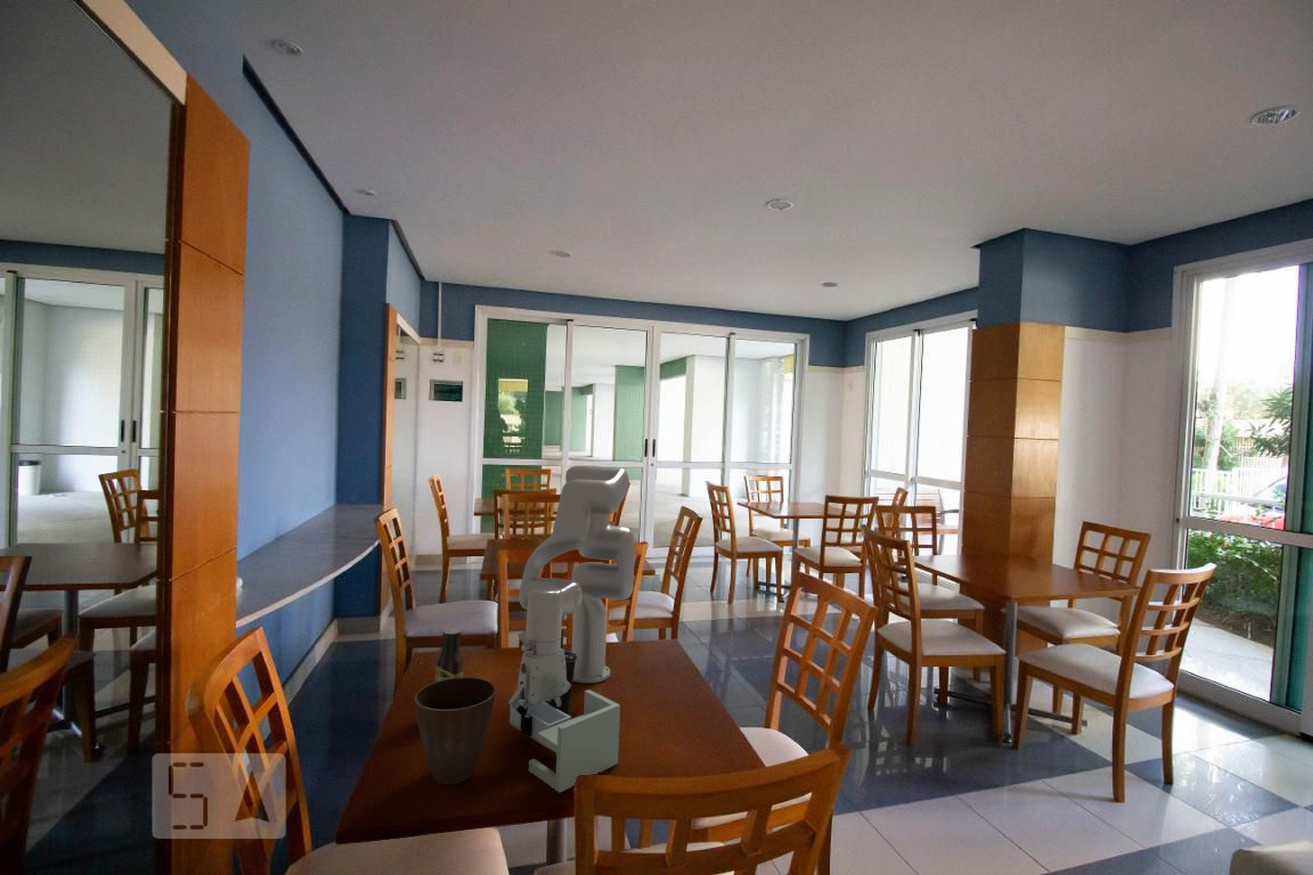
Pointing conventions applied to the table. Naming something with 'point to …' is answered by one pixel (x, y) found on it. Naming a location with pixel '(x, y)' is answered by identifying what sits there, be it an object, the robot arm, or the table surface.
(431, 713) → the plant pot
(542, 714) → the tray
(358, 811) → the table surface
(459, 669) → the sauce bottle
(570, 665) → the drinking cup
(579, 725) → the shelf slot
